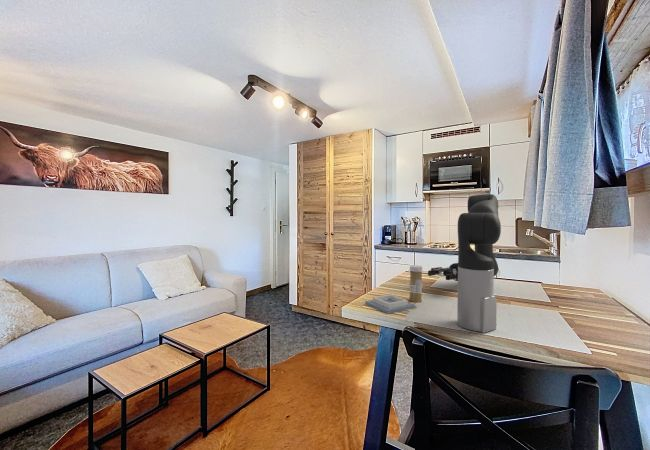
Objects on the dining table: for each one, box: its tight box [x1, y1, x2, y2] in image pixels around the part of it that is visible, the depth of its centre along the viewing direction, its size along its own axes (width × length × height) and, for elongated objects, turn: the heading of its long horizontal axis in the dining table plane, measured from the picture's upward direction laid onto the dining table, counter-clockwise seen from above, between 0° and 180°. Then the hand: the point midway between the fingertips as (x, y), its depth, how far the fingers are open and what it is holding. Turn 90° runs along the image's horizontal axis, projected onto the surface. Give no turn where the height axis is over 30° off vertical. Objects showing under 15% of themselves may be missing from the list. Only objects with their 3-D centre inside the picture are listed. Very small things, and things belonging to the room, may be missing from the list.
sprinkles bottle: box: [409, 264, 423, 303], centre depth 106 cm, size 5×5×14 cm
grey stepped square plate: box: [365, 294, 417, 315], centre depth 99 cm, size 12×13×2 cm
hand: (437, 275), depth 112 cm, fingers open, 8 cm apart
